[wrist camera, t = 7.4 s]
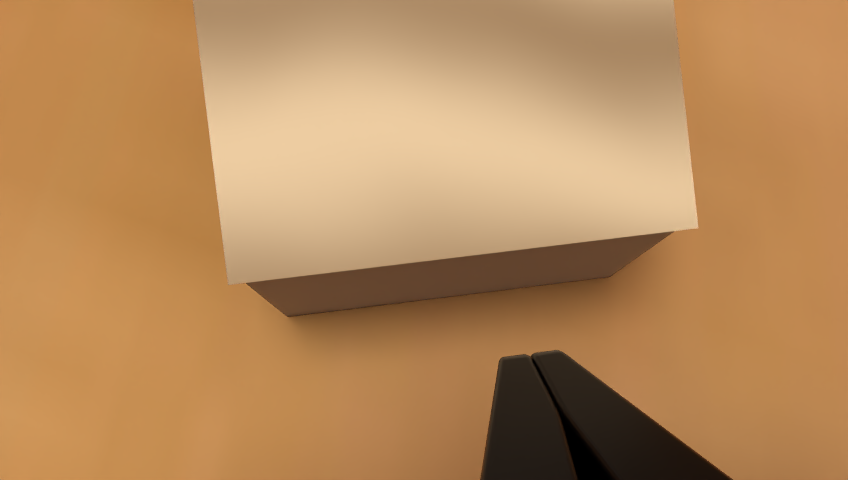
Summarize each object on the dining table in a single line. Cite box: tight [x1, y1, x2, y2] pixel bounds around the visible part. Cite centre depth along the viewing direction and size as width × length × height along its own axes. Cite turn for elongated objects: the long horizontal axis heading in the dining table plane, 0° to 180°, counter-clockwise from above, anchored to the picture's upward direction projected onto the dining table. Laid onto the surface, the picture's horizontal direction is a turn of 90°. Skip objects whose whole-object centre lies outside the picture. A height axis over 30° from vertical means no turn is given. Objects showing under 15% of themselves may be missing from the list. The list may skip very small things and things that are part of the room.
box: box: [246, 231, 674, 317], centre depth 18 cm, size 10×10×5 cm
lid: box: [193, 0, 698, 285], centre depth 14 cm, size 10×10×1 cm
